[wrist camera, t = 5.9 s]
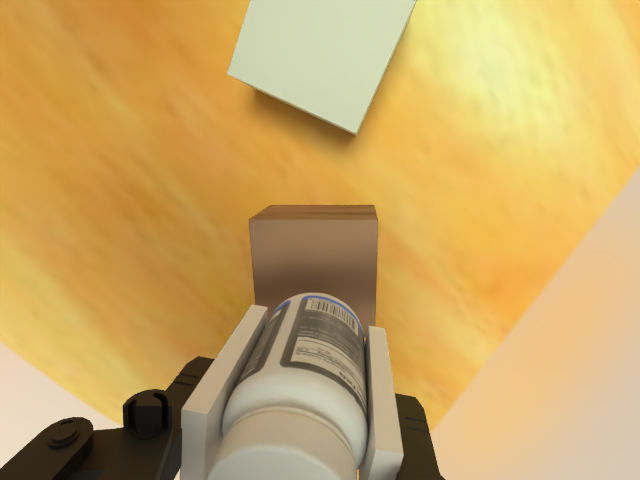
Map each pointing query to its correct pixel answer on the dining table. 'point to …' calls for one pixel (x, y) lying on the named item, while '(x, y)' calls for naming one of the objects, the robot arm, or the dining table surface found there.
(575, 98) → the dining table surface
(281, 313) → the pill bottle
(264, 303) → the walnut block
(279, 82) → the sage block
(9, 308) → the dining table surface
